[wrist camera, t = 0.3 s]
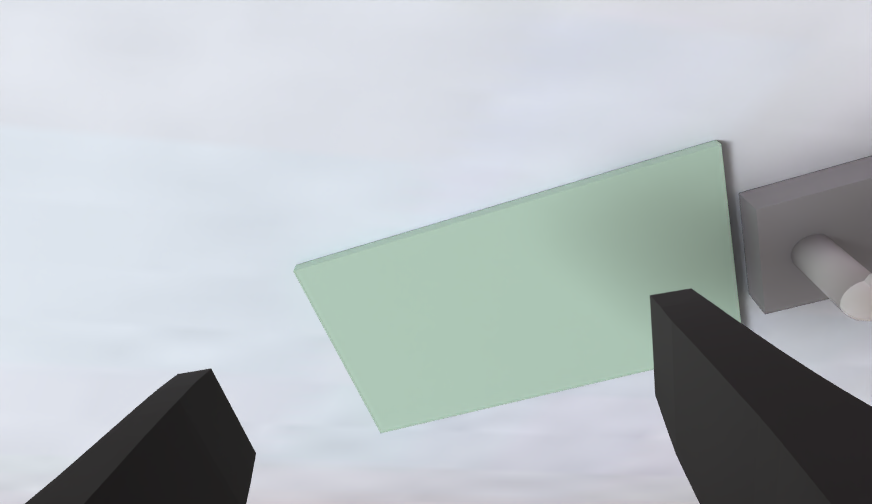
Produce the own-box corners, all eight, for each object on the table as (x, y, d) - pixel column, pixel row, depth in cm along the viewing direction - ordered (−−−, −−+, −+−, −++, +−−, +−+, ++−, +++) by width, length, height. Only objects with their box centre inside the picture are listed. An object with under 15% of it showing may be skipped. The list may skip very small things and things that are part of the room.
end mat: (738, 341, 21) (743, 348, 21) (381, 425, 24) (380, 433, 23) (715, 139, 17) (721, 144, 17) (296, 265, 20) (293, 271, 20)
